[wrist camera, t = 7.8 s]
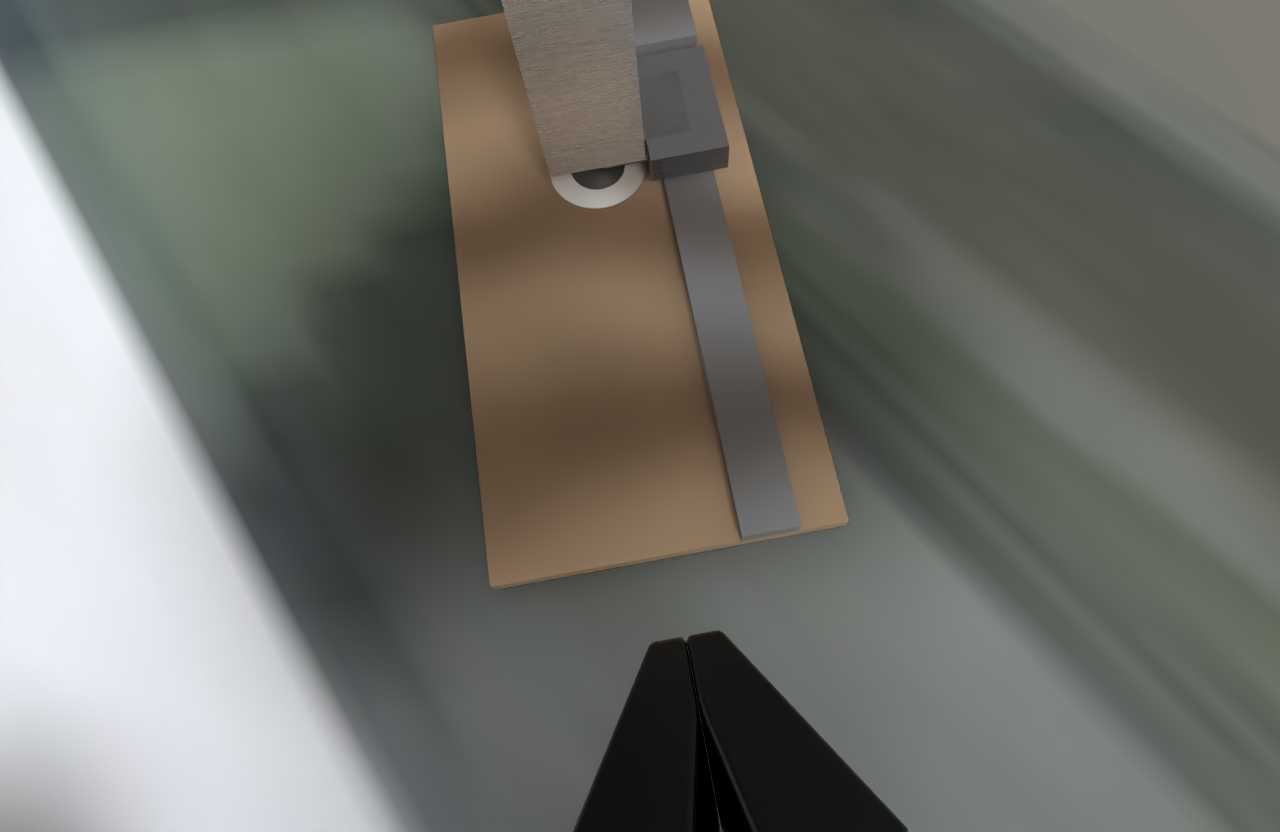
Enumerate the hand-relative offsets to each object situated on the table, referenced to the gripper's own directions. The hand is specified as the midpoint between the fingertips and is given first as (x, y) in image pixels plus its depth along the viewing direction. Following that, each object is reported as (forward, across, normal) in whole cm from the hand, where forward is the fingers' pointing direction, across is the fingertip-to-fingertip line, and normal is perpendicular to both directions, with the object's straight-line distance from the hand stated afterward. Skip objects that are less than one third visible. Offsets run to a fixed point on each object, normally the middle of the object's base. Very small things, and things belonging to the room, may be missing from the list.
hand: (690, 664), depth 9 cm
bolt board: (+18, 0, -1) cm, 18 cm away
